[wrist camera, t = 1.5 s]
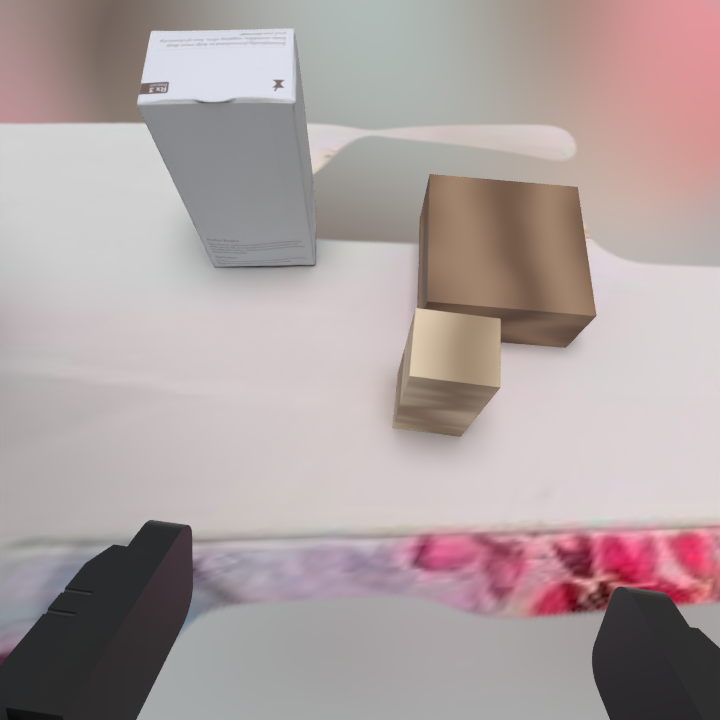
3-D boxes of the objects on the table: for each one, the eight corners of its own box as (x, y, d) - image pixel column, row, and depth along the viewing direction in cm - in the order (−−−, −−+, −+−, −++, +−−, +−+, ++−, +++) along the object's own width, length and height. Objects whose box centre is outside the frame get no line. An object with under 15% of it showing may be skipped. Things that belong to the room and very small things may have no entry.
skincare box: (316, 210, 40) (304, 22, 27) (316, 271, 38) (302, 98, 24) (213, 210, 40) (149, 19, 26) (206, 271, 37) (131, 96, 24)
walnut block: (415, 336, 36) (426, 301, 32) (419, 219, 41) (429, 174, 36) (564, 349, 36) (596, 315, 32) (550, 231, 41) (577, 187, 36)
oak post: (392, 427, 33) (409, 375, 25) (398, 373, 35) (415, 307, 26) (460, 436, 33) (500, 387, 25) (462, 381, 34) (500, 318, 26)
